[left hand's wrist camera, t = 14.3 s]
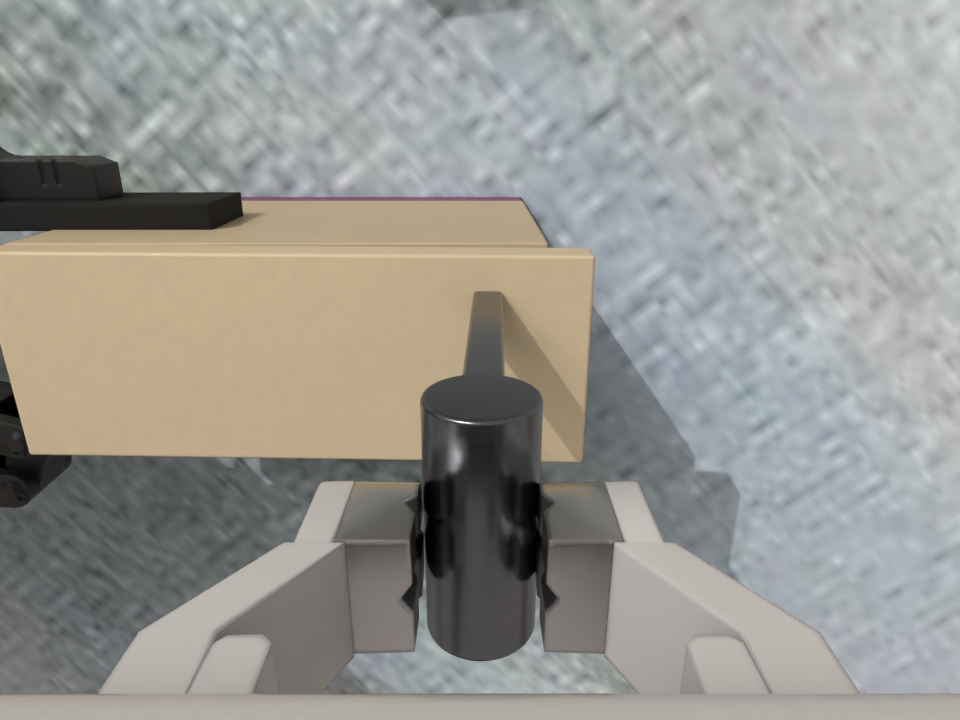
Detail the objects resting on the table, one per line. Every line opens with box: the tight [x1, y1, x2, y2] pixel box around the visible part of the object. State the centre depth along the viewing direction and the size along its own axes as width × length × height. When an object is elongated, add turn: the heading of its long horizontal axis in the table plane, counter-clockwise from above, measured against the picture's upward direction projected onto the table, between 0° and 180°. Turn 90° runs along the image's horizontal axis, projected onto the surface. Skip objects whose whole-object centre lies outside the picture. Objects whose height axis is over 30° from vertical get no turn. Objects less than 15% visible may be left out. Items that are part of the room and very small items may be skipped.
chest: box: [6, 197, 548, 248], centre depth 22 cm, size 14×6×10 cm, turn 90°
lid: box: [0, 244, 595, 661], centre depth 14 cm, size 15×6×8 cm, turn 90°
